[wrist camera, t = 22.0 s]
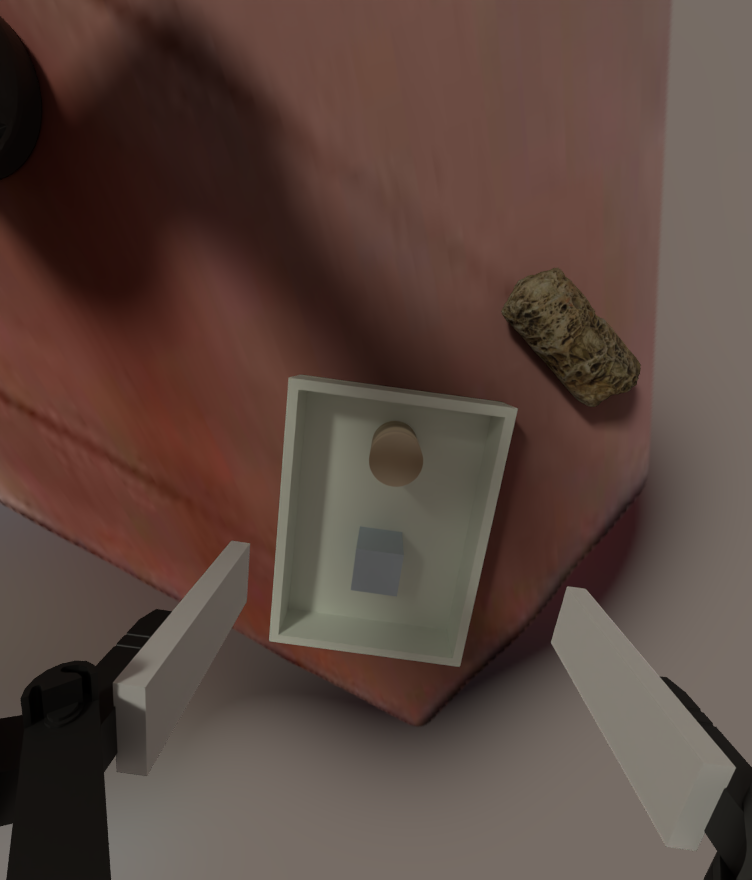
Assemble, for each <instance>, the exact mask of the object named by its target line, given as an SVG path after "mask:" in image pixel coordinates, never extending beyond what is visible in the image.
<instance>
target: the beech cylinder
mask: <svg viewBox="0 0 752 880" xmlns="http://www.w3.org/2000/svg"><path fill="white" fill-rule="evenodd" d="M369 466H370V469H371V472H372V474H373V475H374V477H375V478H376V479H377V480H378V481H380V482H381V483H383V484H385V485H388V486H392V487H400V486H404V485H407V484H409V483H411V482H412V481H414V480H415V479H416V478H417V477H418V475H419V474H420V472H421V470H422V467H423V455H422V451H421V448H420V446H419V443H418V440H417V437H416V434H415V432H414V431H413V429H412V428H411V427H410V426H409V425H407V424H405V423H403V422H400V421H389V422H386V423H384V424H382V425H381V426H380V427H379V428H378V429H377V430H376V431H375V433H374V435H373V439H372V444H371V450H370V455H369Z"/></svg>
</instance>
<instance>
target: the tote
mask: <svg viewBox="0 0 752 880" xmlns="http://www.w3.org/2000/svg"><path fill="white" fill-rule="evenodd" d="M517 410H518V408H515V407H513V406H510V405H508V404H506V403H503V402H499V401H492V400H484V399H477V398H470V397H462V396H455V395H447V394H440V393H433V392H425V391H418V390H410V389H403V388H396V387H388V386H381V385H374V384H366V383H359V382H351V381H344V380H337V379H329V378H322V377H315V376H307V375H298V376H293V377H289V382H288V395H287V409H286V422H285V435H284V449H283V462H282V475H281V489H280V502H279V516H278V529H277V542H276V556H275V569H274V582H273V596H272V609H271V622H270V636H269V641H272V642H280V643H287V644H295V645H302V646H309V647H317V648H324V649H331V650H339V651H346V652H353V653H361V654H368V655H376V656H383V657H390V658H398V659H405V660H412V661H420V662H427V663H434V664H442V665H449V666H457V667H460V664H461V660H462V655H463V651H464V646H465V642H466V638H467V633H468V629H469V624H470V620H471V615H472V611H473V606H474V602H475V597H476V593H477V588H478V584H479V580H480V575H481V571H482V566H483V562H484V557H485V553H486V548H487V544H488V539H489V535H490V531H491V526H492V522H493V517H494V513H495V508H496V504H497V499H498V495H499V490H500V486H501V481H502V477H503V473H504V468H505V464H506V459H507V455H508V450H509V446H510V441H511V437H512V432H513V428H514V424H515V419H516V415H517ZM389 421H400V422H403V423H405V424H407V425H409V426H410V427H411V428H412V429H413V431H414V432H415V434H416V437H417V440H418V443H419V446H420V448H421V451H422V455H423V467H422V470H421V472H420V474H419V475H418V477H417V478H416V479H415V480H414V481H412V482H411V483H409V484H407V485H404V486H400V487H392V486H388V485H385V484H383V483H381V482H380V481H378V480H377V479H376V478H375V477H374V475H373V474H372V472H371V469H370V466H369V455H370V450H371V444H372V439H373V435H374V433H375V431H376V430H377V429H378V428H379V427H380V426H381V425H382V424H384V423H386V422H389ZM360 526H361V527H368V528H375V529H382V530H390V531H397V532H402V538H403V551H404V557H403V563H402V569H401V575H400V581H399V586H398V592H397V597H396V596H389V595H382V594H375V593H368V592H360V591H353V590H351V584H352V576H353V569H354V562H355V554H356V547H357V541H358V535H359V529H360Z"/></svg>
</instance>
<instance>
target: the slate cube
mask: <svg viewBox="0 0 752 880" xmlns="http://www.w3.org/2000/svg"><path fill="white" fill-rule="evenodd" d="M403 557H404V551H403V538H402V532H397V531H390V530H382V529H375V528H368V527H361V526H360V529H359V535H358V541H357V547H356V554H355V562H354V569H353V576H352V584H351V590H353V591H360V592H368V593H375V594H382V595H389V596H396V597H397V592H398V586H399V581H400V575H401V569H402V563H403Z"/></svg>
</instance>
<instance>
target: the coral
mask: <svg viewBox="0 0 752 880" xmlns="http://www.w3.org/2000/svg"><path fill="white" fill-rule="evenodd" d="M501 312H502V315H503V316H504V318H505V319H506V321H507V322H509V323H510V324H511V326H513V328H514V329H515V330H516V331H517V332H518V333H519V334H520V335H521V336H522V337H523V338H524V339H525V340H526V341H527V343H528V344H529V345H530V347H531V348H532V349H533V350H534V352H535V353H536V354H537V355H538V356H539V357H540V358H541V359H542V360H543V361H544V362H545V363H546V364H547V366H548V367H549V368H550V369H551V370H552V371H553V372H554V373H555V374H556V376H557V378H558V379H559V380H560V381H561V382H562V383H563V384H564V386H565V387H566V388H567V389H568V390H569V392H570V393H571V394H572V395H573V396H574V397H575V398H576V399H577V400H578V401H580V402H581V403H583V404H585V405H587V406H589V407H595V406H597V405H599V404H600V403H601V402H602V401H603V400H605V399H607V398H608V397H610V396H611V395H614V394H620V393H624V392H627V391H629V390H630V389H631V388H632V387H633V386H635V385H636V384H637V380H638V376H639V374H640V366H641V365H640V363H639V361H638V360H637V358H636V357H635V356H634V355H633V354H632V353H631V352H630V351H629V350H628V348H627V347H626V345H625V344H624V343H623V341H622V340H621V339H620V338H619V337H618V335H617V334H616V333H615V331H614V330H613V329H612V328H611V327H610V325H609V324H608V323H607V322H606V321H605V320H604V319H602V318H600V317H598V316H597V315H595V310H594V309H593V308H592V307H591V305H590V303H589V302H588V300H587V299H586V297H585V296H584V295H583V294H582V293H581V292H580V291H579V289H578V288H577V287H576V286H575V285H574V284H573V283H572V281H571V280H569V279H568V278H567V277H565V275H564V273H563V272H562V271H561V270H560V269H559V268H553V269H551V270H549V271H544V272H540V273H538V274H536V275H529V276H527V277H525V278H524V279H521V280H519V281H518V283H517V284H516V285H515V287H514V290H513V292H512V293H511V294H510V297H509V298H508V301H507V302H506V303H505V305H504V307H503V309H502V311H501Z"/></svg>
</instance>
